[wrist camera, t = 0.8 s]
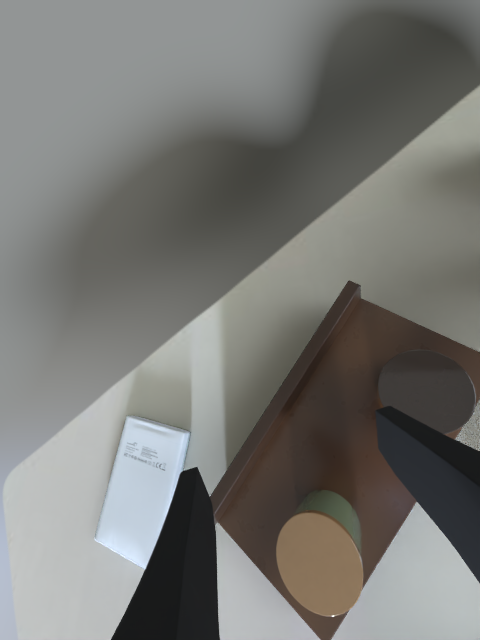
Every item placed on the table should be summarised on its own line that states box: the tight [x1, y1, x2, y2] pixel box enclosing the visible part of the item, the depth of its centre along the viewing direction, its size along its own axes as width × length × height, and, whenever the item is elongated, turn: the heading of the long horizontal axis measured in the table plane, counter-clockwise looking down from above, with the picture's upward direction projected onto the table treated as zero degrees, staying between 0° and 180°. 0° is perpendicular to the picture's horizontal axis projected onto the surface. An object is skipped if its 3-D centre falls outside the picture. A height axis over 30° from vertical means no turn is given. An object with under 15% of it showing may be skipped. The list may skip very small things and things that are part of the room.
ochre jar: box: [376, 350, 476, 434], centre depth 18 cm, size 5×5×6 cm
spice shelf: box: [210, 281, 480, 640], centre depth 21 cm, size 11×22×6 cm, turn 144°
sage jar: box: [276, 490, 363, 616], centre depth 18 cm, size 5×5×6 cm
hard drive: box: [95, 416, 191, 569], centre depth 30 cm, size 2×8×12 cm
